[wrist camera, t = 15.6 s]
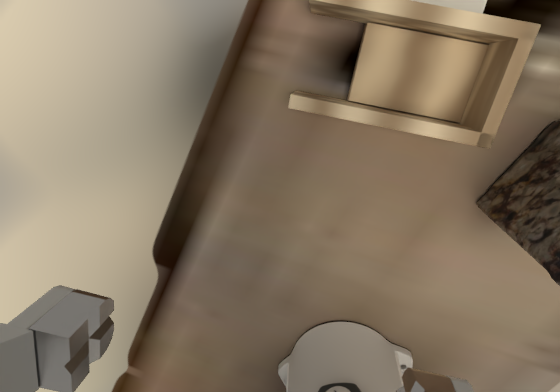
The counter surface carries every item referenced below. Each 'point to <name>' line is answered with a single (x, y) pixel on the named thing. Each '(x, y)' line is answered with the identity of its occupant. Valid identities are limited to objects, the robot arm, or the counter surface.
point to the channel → (427, 69)
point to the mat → (459, 4)
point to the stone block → (531, 201)
